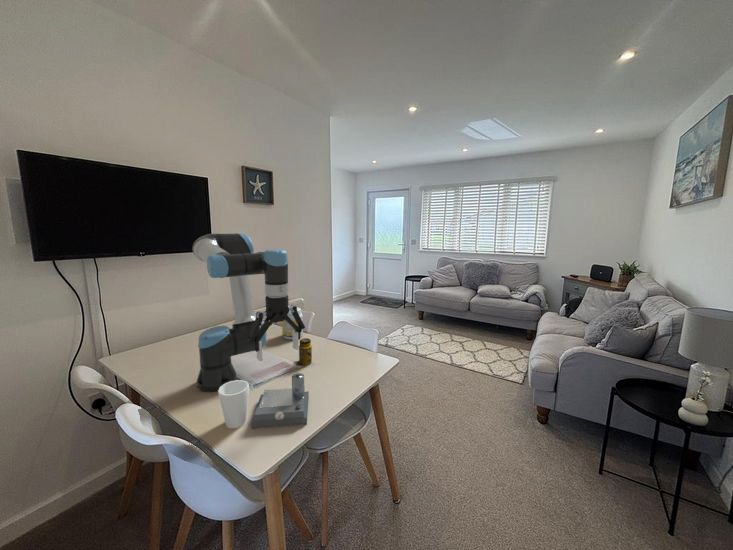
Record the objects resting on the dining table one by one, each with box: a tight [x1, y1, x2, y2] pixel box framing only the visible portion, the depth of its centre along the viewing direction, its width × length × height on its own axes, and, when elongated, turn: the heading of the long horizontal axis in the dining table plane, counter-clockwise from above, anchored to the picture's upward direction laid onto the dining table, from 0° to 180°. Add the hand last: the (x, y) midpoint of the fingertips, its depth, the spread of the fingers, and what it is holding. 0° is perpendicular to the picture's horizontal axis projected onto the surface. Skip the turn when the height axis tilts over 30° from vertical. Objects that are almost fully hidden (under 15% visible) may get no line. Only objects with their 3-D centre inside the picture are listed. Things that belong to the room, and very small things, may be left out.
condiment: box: [292, 337, 315, 369], centre depth 143 cm, size 7×8×12 cm
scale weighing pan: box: [259, 387, 306, 408], centre depth 108 cm, size 15×11×2 cm
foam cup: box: [217, 379, 250, 429], centre depth 99 cm, size 10×9×13 cm
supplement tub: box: [281, 306, 304, 340], centre depth 177 cm, size 12×12×17 cm
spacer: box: [291, 372, 305, 400], centre depth 108 cm, size 4×4×8 cm
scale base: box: [251, 390, 310, 430], centre depth 106 cm, size 18×16×6 cm
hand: (278, 353), depth 103 cm, fingers open, 13 cm apart
